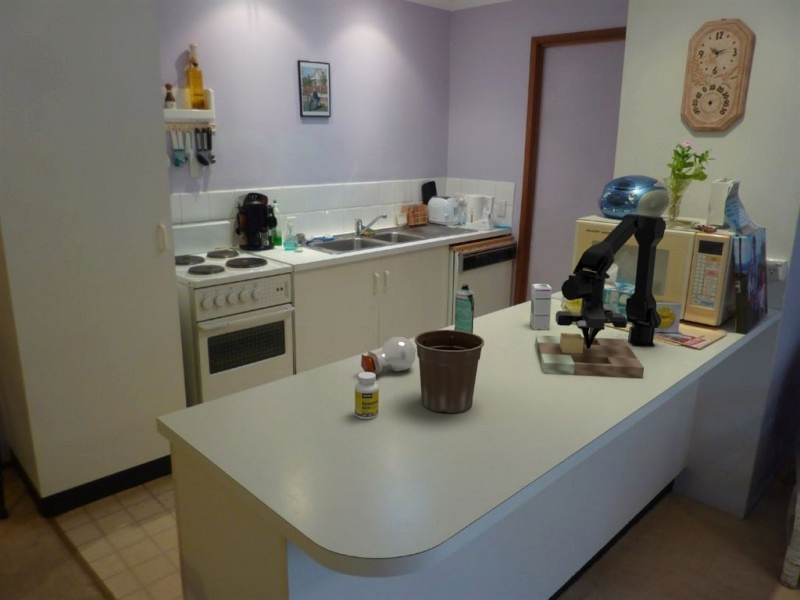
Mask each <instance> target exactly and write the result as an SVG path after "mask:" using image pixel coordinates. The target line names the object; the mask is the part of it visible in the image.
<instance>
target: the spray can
mask: <svg viewBox="0 0 800 600" xmlns="http://www.w3.org/2000/svg"><path fill="white" fill-rule="evenodd" d="M454 301H455V302H454V303H455V305H454V329H453V330H458V331H464V332H469V333H473V334H474V314H475V313H474V312H475V292H474V291H472V290H471V288H470V287H469V284H467V283H463V284H462V285H461V288H460V289H459V290H457V291H456V292H455V300H454Z"/></svg>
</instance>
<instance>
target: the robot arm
mask: <svg viewBox="0 0 800 600" xmlns="http://www.w3.org/2000/svg"><path fill="white" fill-rule="evenodd" d="M666 228H667V223H666V221H665V219H664V218H663V216H662V217H661V216H656V215H655V216H653V215H648V214H635V213H627V214H625V215H623V217H622V220H621V221H620V222H619V223H618V224H617V225H616V227H614V229H612V231H611V232H610V233H609V234H607V236H606V237H605V238H603V240H602V241H601V242H599V243H597V244H594V245H591V246H589V248H587V249H586V250H585V251H583V253H582V255H581V257H580V258H579V260H578V261H577V264H576V265H575V267H574V270H573V271H572V274H569V275H568V279H566V280H565V281H564V282H563V283H562V285H561V288H560V289H561V295H562V296H563V297H564V299H566V300H567V301H575V300H581V302H580V303H581V304H580V305H581V306H580V314H572V313H571V311H565V310H558V311H556V313H555V318H554V320H555V322H556V325H557V326H562V327H563V326H564V327H565V326H566V327H570V326H571V325H573V323H575V325H576V327H577V329H579V330H581V332H582V335H583V336H582V337H584V340H585V344H586V347H587V349H590V347H591V345H592V343H593V341H594V339H595V338H597V335H598V333H599V332H601V331H604V330H605V328H606V327H605V325H606V324H611V325H612V327H614V328H615V329H616V328H617V329H626V328H627V325H628V323H631V325H630V326H629V328H628V329H629V330H628V335H627V336H628V338H627V340H628V341H629V342H630V343H631V345H632V346H636V347H637V346H638V347H655V344H654V339H655V329H659V327H660V326H661V324H662V321H663V320H662V318H661V316H660V314H659V312H658V311H657V300H656V299H655V297H654V295H653V285H654V277H655V275H654V274H655V266H656V257H657V256H656V255H657V247H658V246H659V245H658V244H659V243H660V242H661V241H662V240H663V239H664V235H665V231H666ZM632 236H633V237H634V239H635V241H636V242H637V245H638V249H637V251H638V252H637V259H636V261H637V262H636V269H635V270H636V271H635V282H634V291H633V293H632V294H631V296H629V297H627V298H626V300H625V301H626V302H625V303H626V304H625V309H624V310H625V314H626V317H625V315H624V314H623V313H619V312H614V311H613V309H605V308H604V295H605V284H606V279H608V280H609V279H610V275H609V274H608V271H609V270H610V268H611V267H612V265H613V264H614V262H615V256H616V254H617V253H618V252H619V251H620V250H621V248H623V246H624V245H625V244H627V242H628V241H629V240H630V239H631V238H632Z"/></svg>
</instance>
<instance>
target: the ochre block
mask: <svg viewBox="0 0 800 600" xmlns="http://www.w3.org/2000/svg"><path fill="white" fill-rule="evenodd" d="M559 336H560V348H561V350H562V352H563V353H583V341H584V340H583V338H582V337H583V336H582V334H581V333H569V332H568V333H567V332H560V335H559Z"/></svg>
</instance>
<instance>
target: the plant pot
mask: <svg viewBox="0 0 800 600" xmlns="http://www.w3.org/2000/svg"><path fill="white" fill-rule="evenodd" d="M413 339H414V343H415V345H416V355H417V358H418V364H419V365H418V366H419V376H420V377H419V379H420V381H419V382H420V395H421V396H420V400H421V405H422V406H424V407H425V408H426V409H428V410H430V411H433V412H435V413H436V412H437V413H441V412H446V413H448V414H456V413H461V412H466V411H468V410H470V408H471V407H472V406H473V401H474V394H475V386H476V379H477V372H478V368H479V367H478V365H479V361H480V359H481V355H482V348H483V347H484V345H485V340H484V338H483V337H481V336H480V335H477V334H475V333H474V332H473V333H469V332H464V331H458V330H454V329H434V330H428V331H423V332H421V333H418V334H417V335H416V336H415V337H414V338H413Z"/></svg>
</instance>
